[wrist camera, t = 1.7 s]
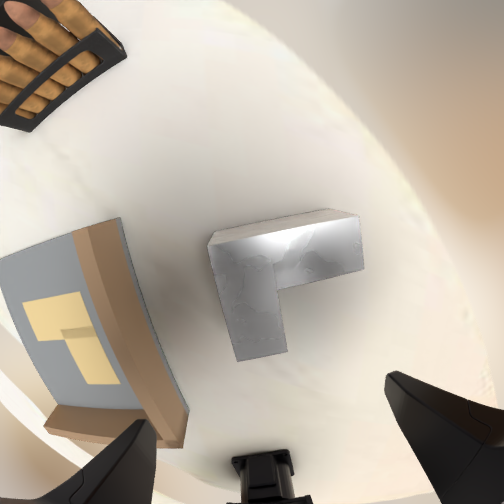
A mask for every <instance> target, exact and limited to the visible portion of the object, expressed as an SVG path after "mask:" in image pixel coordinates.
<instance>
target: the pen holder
mask: <svg viewBox="0 0 504 504" xmlns="http://www.w3.org/2000/svg"><path fill="white" fill-rule="evenodd" d="M6 1H16V2H20V3H23V4H26V5H28V6H30V7H32V8H34V9H35V10H36V11H38V12H40V13H42V14H43V15H45V16H46V17H48V18H51V19H53V20H55V21H57V22H58V23H59V21H58V19H57V18H56V16H55V15H54V14H53V13H52V12H51V11H50V10H49V8H48V7H47V6H46V5H45V4H44V3H42V1H41V0H0V27H3V28H6V29H9V30H11V31H13V32H15V33H18V34H20V35H22V36H24V37H28V38H31V39H33V40H35V39H34V38H33V37H32V35H31V34H29V33H28V32H27V31H25V30H24V28H22V27H21V26H19V25H18V24H16V23H15V22H14V21H13V20H12V19H11V18H10V16H9V15H8V14H7V12H6V10H5V7H4V3H5V2H6ZM35 41H36V40H35ZM0 55H3V56H9V57H12V56H11V55H9V54H8V53H6V52H4V51H3V50H1V49H0Z"/></svg>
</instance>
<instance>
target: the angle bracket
mask: <svg viewBox="0 0 504 504" xmlns="http://www.w3.org/2000/svg"><path fill="white" fill-rule="evenodd" d="M207 249H208V254H209V258H210V262H211V266H212V270H213V274H214V278H215V282H216V286H217V290H218V294H219V298H220V301H221V305H222V309H223V313H224V316H225V320H226V324H227V327H228V331H229V335H230V338H231V342H232V345H233V349H234V352H235V356H236V359H237V362H239V361H245V360H250V359H255V358H261V357H266V356H270V355H275V354H280V353H284V352H288V350H287V344H286V338H285V333H284V327H283V321H282V315H281V310H280V304H279V299H278V293H277V290H279V289H283V288H288V287H293V286H297V285H301V284H306V283H310V282H314V281H319V280H323V279H327V278H331V277H336V276H340V275H344V274H348V273H352V272H356V271H360V270H364V259H363V248H362V238H361V229H360V221H359V216H358V215H354V214H350V213H346V212H342V211H337V210H333V209H324V210H318V211H313V212H308V213H302V214H297V215H292V216H287V217H282V218H276V219H271V220H266V221H261V222H257V223H252V224H247V225H242V226H237V227H232V228H228V229H223V230H218V231H215V232H214V234H213V236H212V237H211V239H210V241H209V243H208V245H207Z"/></svg>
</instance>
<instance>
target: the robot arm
mask: <svg viewBox="0 0 504 504" xmlns="http://www.w3.org/2000/svg"><path fill="white" fill-rule="evenodd" d="M384 391H385V395H386V397H387V400H388V402H389V404H390V407H391V409H392V411H393V414H394V416H395V419H396V421H397V423H398V425H399V427H400V429H401V431H402V432H403V434H404V436H405V437H406V439H407V441H408V443H409V444H410V446H411V448H412V450H413V451H414V453H415V455H416V457H417V459H418V460H419V462H420V464H421V466H422V468H423V469H424V471H425V473H426V475H427V477H428V479H429V480H430V482H431V484H432V486H433V488H434V490H435V492H436V494H437V495H438V497H439V499H440V501H441V503H442V504H504V410H501V409H497V408H493V407H489V406H485V405H482V404H479V403H476V402H473V401H471V400H468V401H467V399H465V398H463V397H460V396H457V395H455V394H452V393H450V392H447V391H445V390H442V389H440V388H437V387H435V386H432V385H430V384H427V383H425V382H423V381H420V380H418V379H415V378H413V377H411V376H408V375H406V374H404V373H401V372H399V371H393V372H390V373H388V374H387V375H386V379H385V388H384ZM156 448H157V434H156V431H155V430H154V428H153V427H152V425H151V424H150V422H149V421H148V420H147V419H136V420H135V421H134V422H133V423H132V424H131V425H130V426H129V427H128V428H127V429H125V430H124V431H123V432H122V433H121V434H120V435H119V436H118V437H117V438H116V439H115V440H113V441H112V442H111V443H110V444H109V445H108V446H107V447H106V448H105V449H104V450H102V451H101V452H100V453H99V454H98V455H97V456H95V457H94V458H93V459H92V460H91V461H90V462H89V463H87V464H86V465H85V466H84V467H83V469H80V470H79V471H78V472H77V473H76V474H75V475H73V476H72V477H71V478H70V479H68V480H67V481H65V482H64V483H62V484H61V485H60V486H58V487H57V488H55V489H53V490H52V491H50V492H49V493H47V494H46V495H44V496H42V497H40V498H37V499H31V500H25V499H10V498H1V497H0V504H151V500H152V493H153V485H154V478H155V471H156ZM232 464H233V466H234V468H235V470H236V471H237V473H238V475H239V477H240V481H241V503H226V504H313V502H312V499H311V496H310V495H305V496H304V497H298V498H295V495H294V490H293V485H292V479H291V476H293V475H294V470H293V466H292V461H291V457H290V453H289V451H288V450H283V451H277V452H272V453H266V454H259V455H252V456H244V457H235V458H232Z"/></svg>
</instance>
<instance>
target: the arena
mask: <svg viewBox="0 0 504 504" xmlns="http://www.w3.org/2000/svg"><path fill="white" fill-rule="evenodd" d="M0 287H1V290H2V293H3V296H4V299H5V301H6V304H7V307H8V310H9V312H10V315H11V317H12V320H13V322H14V324H15V327H16V329H17V331H18V334H19V336H20V338H21V340H22V342H23V344H24V346H25V348H26V350H27V352H28V354H29V356H30V358H31V360H32V362H33V364H34V366H35V368H36V369H37V371H38V373H39V375H40V376H41V378H42V380H43V382H44V383H45V385H46V387H47V388H48V390H49V391H50V393H51V395H52V396H53V397H54V399H55V401H56V402H57V404H58V405H57V407H56V408H55V409H54V411H53V412H52V414H51V415H50V417H49V418H48V420H47V421H46V423H45V424H44V428H45V429H46V430H47V431H48V433H49V434H52V435H57V436H61V437H66V438H70V439H75V440H81V441H87V442H93V443H100V444H107V445H109V444H110V443H111V442H112V441H113V440H115V439H116V438H117V437H118V436H119V435H120V434H121V433H122V432H123V431H124V430H125V429H127V428H128V427H129V426H130V425H131V424H132V423H133V422H134V421H135V420H136V419H147V420H148V421H149V422H150V424H151V425H152V427H153V428H154V430H155V431H156V434H157V448H183V444H184V438H185V432H186V427H187V421H188V416H189V409H188V407H187V405H186V403H185V401H184V398H183V396H182V394H181V392H180V390H179V388H178V386H177V384H176V381H175V379H174V377H173V375H172V372H171V370H170V368H169V366H168V363H167V361H166V358H165V356H164V354H163V351H162V349H161V346H160V344H159V341H158V339H157V336H156V333H155V331H154V328H153V326H152V323H151V320H150V317H149V315H148V312H147V309H146V306H145V303H144V300H143V297H142V294H141V291H140V288H139V285H138V282H137V278H136V275H135V272H134V268H133V265H132V262H131V258H130V255H129V251H128V247H127V243H126V240H125V236H124V232H123V228H122V223H121V219H120V218H116V219H113V220H109V221H105V222H102V223H98V224H95V225H91V226H88V227H85V228H82V229H79V230H76V231H73V232H72V233H69V234H66V235H63V236H60V237H57V238H54V239H51V240H49V241H46V242H43V243H40V244H38V245H35V246H32V247H30V248H27V249H24V250H22V251H19V252H17V253H14V254H12V255H9V256H7V257H4V258H2V259H0Z"/></svg>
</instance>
